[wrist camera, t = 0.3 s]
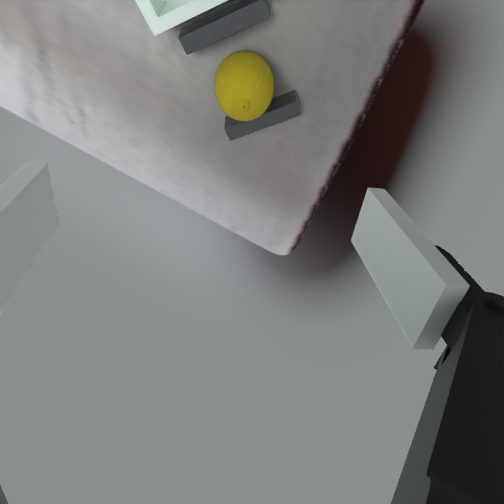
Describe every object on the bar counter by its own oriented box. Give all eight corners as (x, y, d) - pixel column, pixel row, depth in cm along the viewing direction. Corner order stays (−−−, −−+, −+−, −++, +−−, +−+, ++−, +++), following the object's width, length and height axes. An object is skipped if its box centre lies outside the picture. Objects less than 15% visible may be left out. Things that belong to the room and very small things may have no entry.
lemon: (254, 104, 40) (255, 145, 35) (207, 78, 38) (200, 118, 33) (283, 57, 37) (288, 95, 31) (232, 26, 35) (229, 61, 29)
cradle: (262, -10, 33) (263, -2, 31) (299, 102, 40) (301, 114, 38) (181, 28, 35) (178, 38, 33) (231, 128, 42) (230, 140, 41)
